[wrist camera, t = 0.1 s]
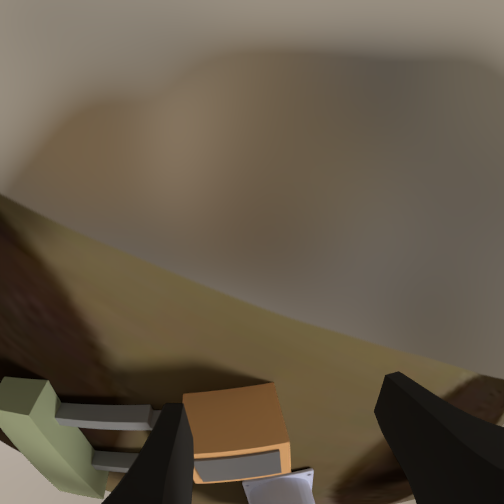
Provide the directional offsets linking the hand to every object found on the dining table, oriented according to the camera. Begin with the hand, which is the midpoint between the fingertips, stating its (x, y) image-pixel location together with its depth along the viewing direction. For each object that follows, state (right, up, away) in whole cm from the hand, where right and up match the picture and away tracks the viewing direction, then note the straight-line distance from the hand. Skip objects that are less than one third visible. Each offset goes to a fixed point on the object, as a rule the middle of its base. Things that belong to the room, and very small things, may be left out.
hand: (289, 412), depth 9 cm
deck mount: (-16, -12, +13) cm, 23 cm away
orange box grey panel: (-3, -7, +13) cm, 15 cm away
